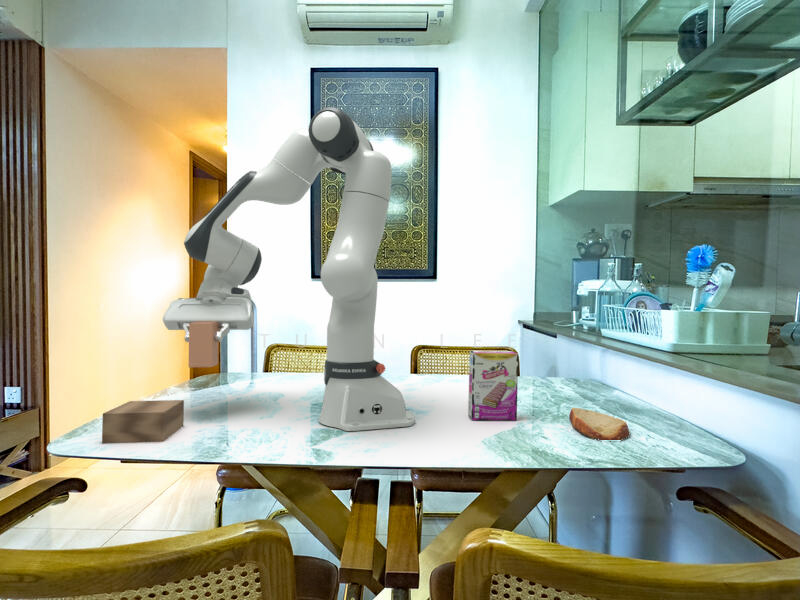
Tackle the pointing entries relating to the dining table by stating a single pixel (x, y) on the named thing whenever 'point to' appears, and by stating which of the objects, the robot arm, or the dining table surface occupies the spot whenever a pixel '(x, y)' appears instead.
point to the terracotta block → (203, 344)
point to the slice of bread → (598, 425)
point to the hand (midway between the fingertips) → (203, 340)
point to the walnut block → (142, 421)
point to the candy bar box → (493, 385)
